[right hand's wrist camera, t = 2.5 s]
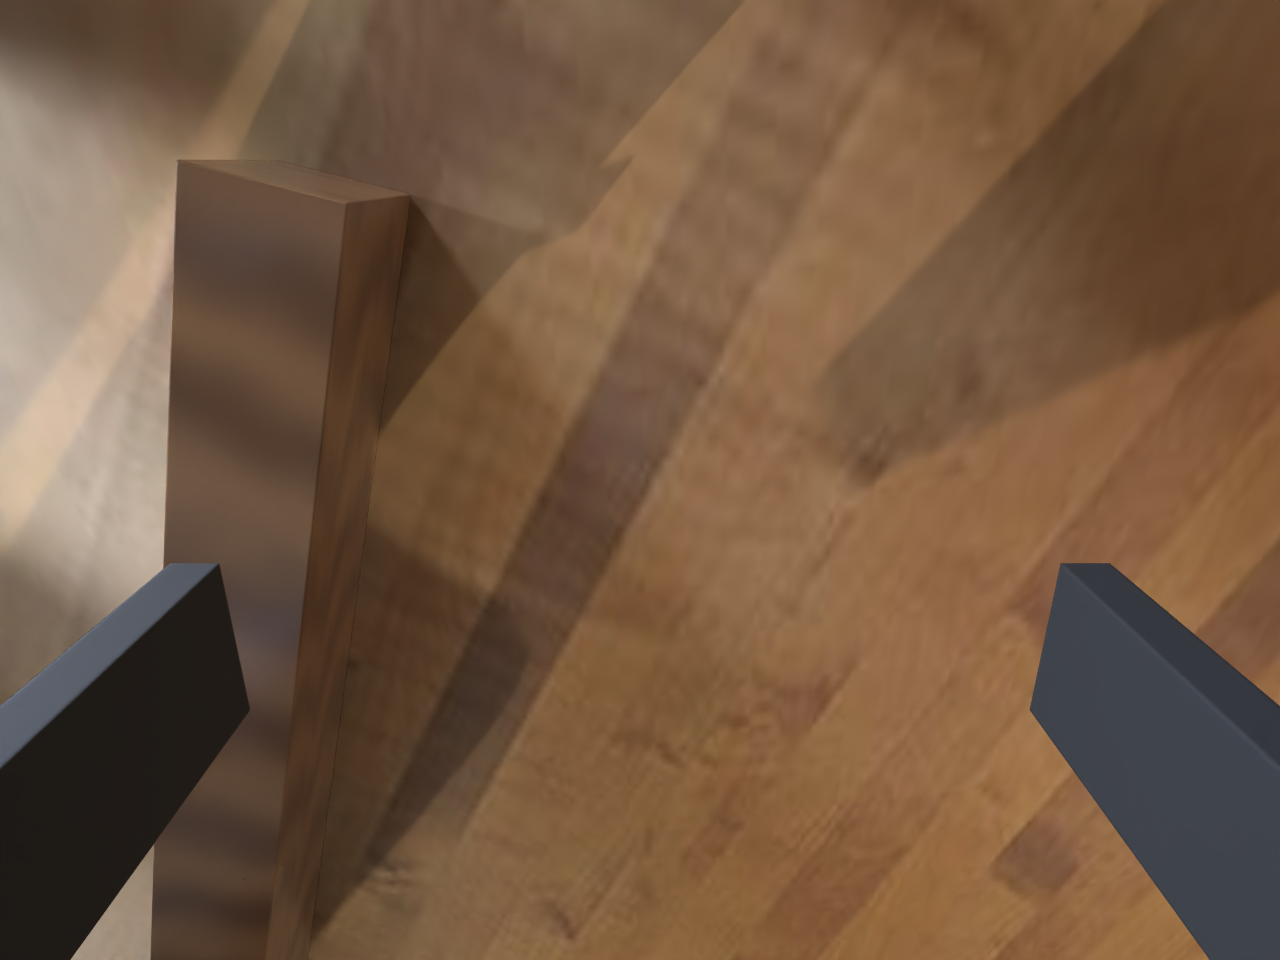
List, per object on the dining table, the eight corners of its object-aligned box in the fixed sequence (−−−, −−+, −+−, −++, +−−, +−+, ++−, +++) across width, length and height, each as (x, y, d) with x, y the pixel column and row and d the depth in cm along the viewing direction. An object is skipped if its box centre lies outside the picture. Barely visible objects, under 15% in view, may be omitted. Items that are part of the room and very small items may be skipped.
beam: (277, 160, 35) (175, 159, 27) (411, 194, 35) (347, 203, 28) (210, 1037, 55) (143, 1173, 48) (295, 1051, 56) (241, 1188, 48)
